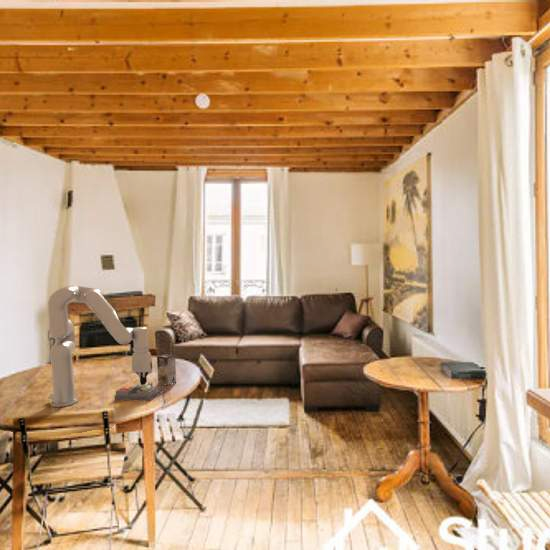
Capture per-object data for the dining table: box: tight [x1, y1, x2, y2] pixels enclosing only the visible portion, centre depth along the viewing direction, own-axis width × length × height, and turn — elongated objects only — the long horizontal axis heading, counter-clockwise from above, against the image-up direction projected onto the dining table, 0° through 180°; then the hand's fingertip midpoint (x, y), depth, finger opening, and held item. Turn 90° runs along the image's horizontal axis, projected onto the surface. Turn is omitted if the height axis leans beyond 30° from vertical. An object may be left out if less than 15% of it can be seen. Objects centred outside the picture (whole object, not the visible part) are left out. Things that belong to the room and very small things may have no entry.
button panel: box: [114, 382, 165, 402], centre depth 210 cm, size 20×15×4 cm
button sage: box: [141, 385, 151, 391], centre depth 205 cm, size 5×5×2 cm
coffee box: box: [156, 353, 177, 386], centre depth 228 cm, size 9×6×16 cm
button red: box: [120, 385, 131, 391], centre depth 207 cm, size 5×5×2 cm
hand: (143, 383), depth 213 cm, fingers closed
